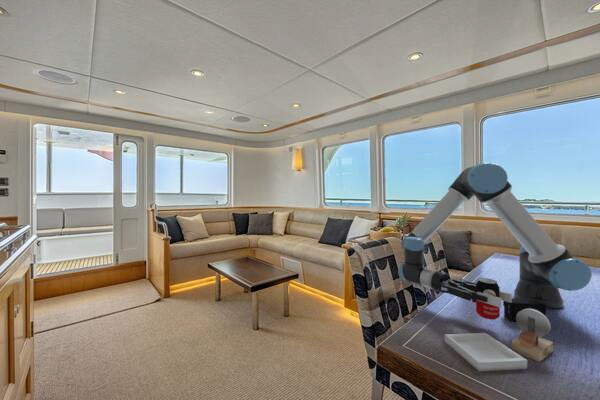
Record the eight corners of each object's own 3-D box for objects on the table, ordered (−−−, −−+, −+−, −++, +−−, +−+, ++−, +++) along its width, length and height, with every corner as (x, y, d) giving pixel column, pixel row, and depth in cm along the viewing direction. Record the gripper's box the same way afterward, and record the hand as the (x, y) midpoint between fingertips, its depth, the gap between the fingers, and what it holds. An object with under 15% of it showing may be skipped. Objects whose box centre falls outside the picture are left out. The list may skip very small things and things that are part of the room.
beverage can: (471, 314, 86) (471, 278, 86) (483, 310, 88) (483, 276, 88) (491, 322, 80) (491, 284, 80) (504, 318, 83) (504, 282, 83)
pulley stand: (524, 339, 77) (524, 302, 77) (555, 351, 71) (556, 311, 71) (509, 349, 72) (509, 309, 72) (541, 363, 66) (542, 319, 66)
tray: (485, 339, 77) (485, 332, 77) (527, 368, 64) (527, 360, 64) (444, 341, 76) (444, 334, 76) (478, 371, 63) (478, 362, 63)
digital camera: (534, 317, 92) (534, 298, 91) (545, 325, 86) (546, 304, 86) (501, 315, 93) (502, 296, 93) (511, 322, 88) (511, 302, 88)
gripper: (449, 285, 105) (519, 305, 85) (420, 294, 95) (490, 319, 75) (449, 267, 105) (519, 283, 85) (420, 274, 95) (490, 294, 75)
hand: (505, 300), depth 80 cm, fingers closed on beverage can, 6 cm apart
